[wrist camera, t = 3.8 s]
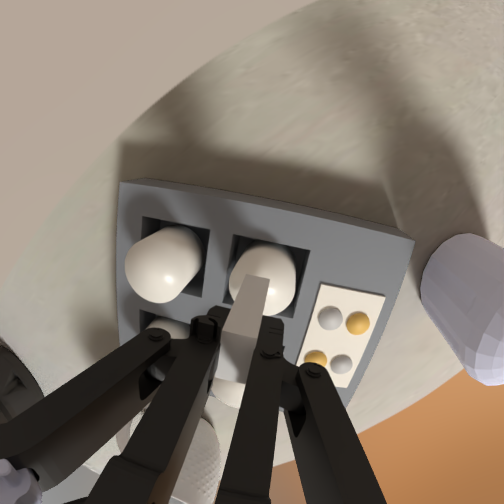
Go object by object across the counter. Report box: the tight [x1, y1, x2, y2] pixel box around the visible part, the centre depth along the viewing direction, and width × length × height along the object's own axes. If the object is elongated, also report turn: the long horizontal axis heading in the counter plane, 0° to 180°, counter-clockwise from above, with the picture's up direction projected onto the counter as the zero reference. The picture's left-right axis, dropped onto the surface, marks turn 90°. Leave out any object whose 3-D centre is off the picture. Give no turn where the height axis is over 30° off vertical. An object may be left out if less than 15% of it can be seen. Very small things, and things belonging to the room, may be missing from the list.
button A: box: [145, 315, 190, 339], centre depth 23 cm, size 4×4×4 cm
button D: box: [229, 239, 296, 316], centre depth 22 cm, size 4×4×4 cm
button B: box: [125, 225, 205, 303], centre depth 21 cm, size 4×4×4 cm
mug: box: [116, 403, 221, 504], centre depth 26 cm, size 15×11×13 cm
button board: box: [116, 178, 415, 412], centre depth 24 cm, size 22×18×4 cm
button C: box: [211, 373, 246, 409], centre depth 22 cm, size 4×4×4 cm
